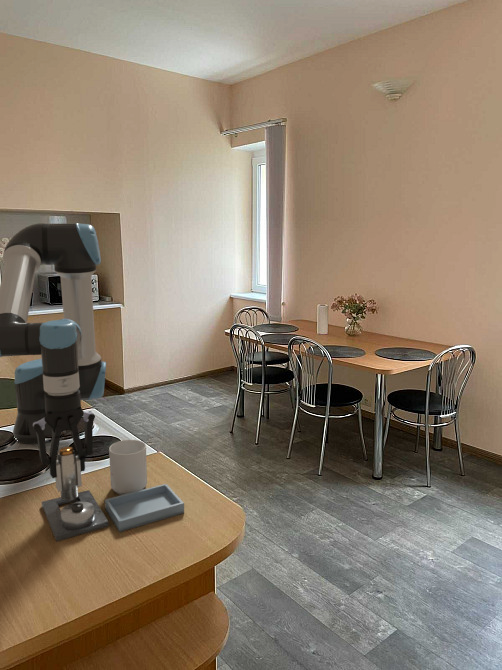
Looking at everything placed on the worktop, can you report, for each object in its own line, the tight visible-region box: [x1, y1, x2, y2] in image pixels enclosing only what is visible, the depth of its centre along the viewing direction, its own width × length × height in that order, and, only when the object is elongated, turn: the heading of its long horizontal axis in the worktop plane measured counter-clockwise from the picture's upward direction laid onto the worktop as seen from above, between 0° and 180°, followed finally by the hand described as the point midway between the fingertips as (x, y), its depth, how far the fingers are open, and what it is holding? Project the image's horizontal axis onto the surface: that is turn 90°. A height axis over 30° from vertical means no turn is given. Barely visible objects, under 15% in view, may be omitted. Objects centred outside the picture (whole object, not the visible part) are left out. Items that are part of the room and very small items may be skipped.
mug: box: [108, 439, 148, 496], centre depth 133 cm, size 12×9×11 cm
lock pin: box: [57, 446, 79, 501], centre depth 122 cm, size 4×4×12 cm
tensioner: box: [41, 489, 110, 542], centre depth 120 cm, size 16×11×5 cm
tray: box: [104, 483, 185, 533], centre depth 122 cm, size 15×11×2 cm
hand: (68, 486), depth 123 cm, fingers closed on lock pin, 4 cm apart
